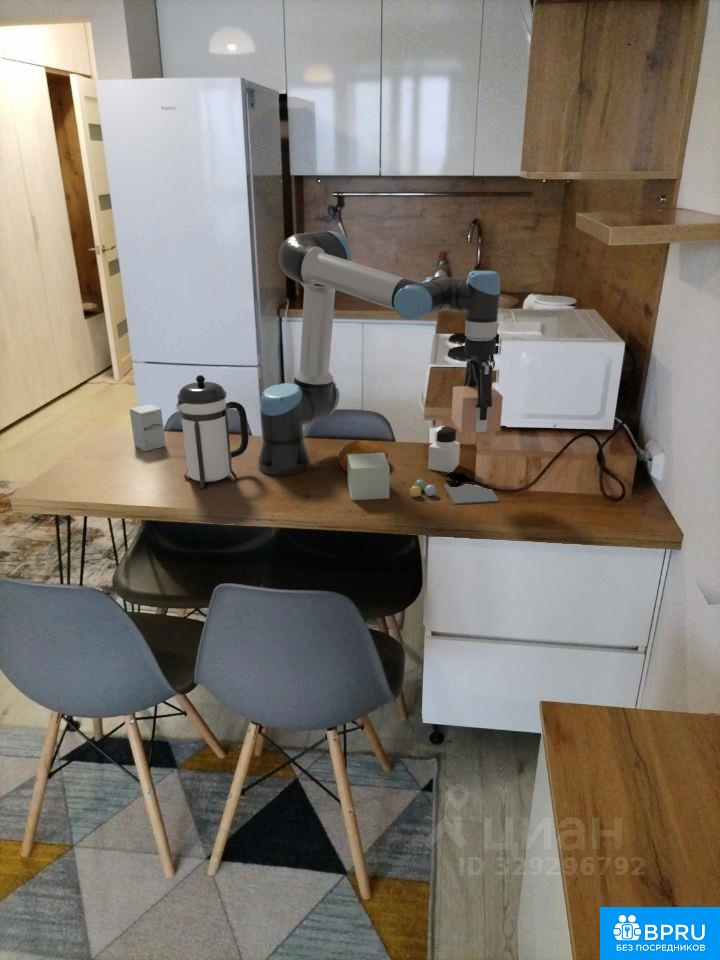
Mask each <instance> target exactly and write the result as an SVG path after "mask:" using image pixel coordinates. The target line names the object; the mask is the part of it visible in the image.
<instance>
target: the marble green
mask: <svg viewBox="0 0 720 960" xmlns="http://www.w3.org/2000/svg"><path fill="white" fill-rule="evenodd" d="M414 486H419V487H420V489H421V491H423V490H425V487H426V486H427V485H426V482H425V480H424V479H420V478H419V479H417V480H416V481H415V482H414Z"/></svg>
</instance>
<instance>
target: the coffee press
mask: <svg viewBox="0 0 720 960" xmlns="http://www.w3.org/2000/svg"><path fill="white" fill-rule="evenodd" d="M195 378H196V379H195V380H196V382H192V383H189V384H186V385H184V386H183V387H181V388H180V389H179V392H178V394H177V396H176V397H177V401H176V405H175V410H176V411H179V416H180V418H181V425H182V426H181V427H182V433H183V441H184V448H185V449H184V451H185V458H186V459H185V460H186V466H187V469H186V472H185V474H184V476H183V477H184V479H185V480H189V479H192V480H195V481H197V482H199V486H198V487H199V490H206V488H207V484H208V482H209V483H211V482H216V481H220V480H223V479H225V478H228V479H229V480H230V481H231V482H236V479H237V478H238V476H237V475H236V473H235V472H234V471H233V466H232V465H233V464H232V462H233V461H232V459H234V458H236V457H238V456H241V455H242V454H244V453H245V451H246V450H247V449H248V444H249V430H248V418H247V412H246V410H245V407H244V406H243V405H242V404H241V403H239V402H238V401H237V402H236V401H229V402H226V398H227V392H226V390H225V389H224V387H223V386H222V385H221V384H219V383H216V382H213V381H212V382H211V381H206V377H205V376H204V375H202V374H201V375H200V374H199V375H197V377H195ZM228 409H236V411H237V412H238V414H239V426H240V439H241V442H240V445H239V447H238V448H237V449H234V450H232V451H231V443H230V432H229V430H230V429H229V423H228V422H229V421H228ZM187 474H188V475H187ZM230 474H231V475H232V476H233V477H234V478H233V477H232V476H231V475H230Z"/></svg>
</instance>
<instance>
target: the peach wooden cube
mask: <svg viewBox="0 0 720 960" xmlns="http://www.w3.org/2000/svg"><path fill="white" fill-rule="evenodd" d="M503 399H504V397H503V395H502V394H501V393H500V392H499V391H498V390H497V389H495V387H494V386H492V406H491V407H488V421H487V432H500V431H501V425H502V424H501V423H502V411H503ZM451 400H452V402H451V403H452V404H451V421H452V423H453V424H454V425H455V427H456V428H457V430H458V431H459V432H460V434H461V433H462V434H464V433H465V434H467V433H477V432H476V431H475V429H476V413H477V408H476V405H478V394H477V386H464V385H462V386H458V385H457V386H452V399H451ZM487 432H486V433H487Z"/></svg>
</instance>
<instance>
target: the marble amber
mask: <svg viewBox="0 0 720 960" xmlns="http://www.w3.org/2000/svg"><path fill="white" fill-rule="evenodd" d="M409 494H410V495H411V497H414V498H417V497H419V496H420V495H421V494H422V490H421V489H420V487H419V486H415V485H413V486H411V487H410V488H409Z"/></svg>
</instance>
